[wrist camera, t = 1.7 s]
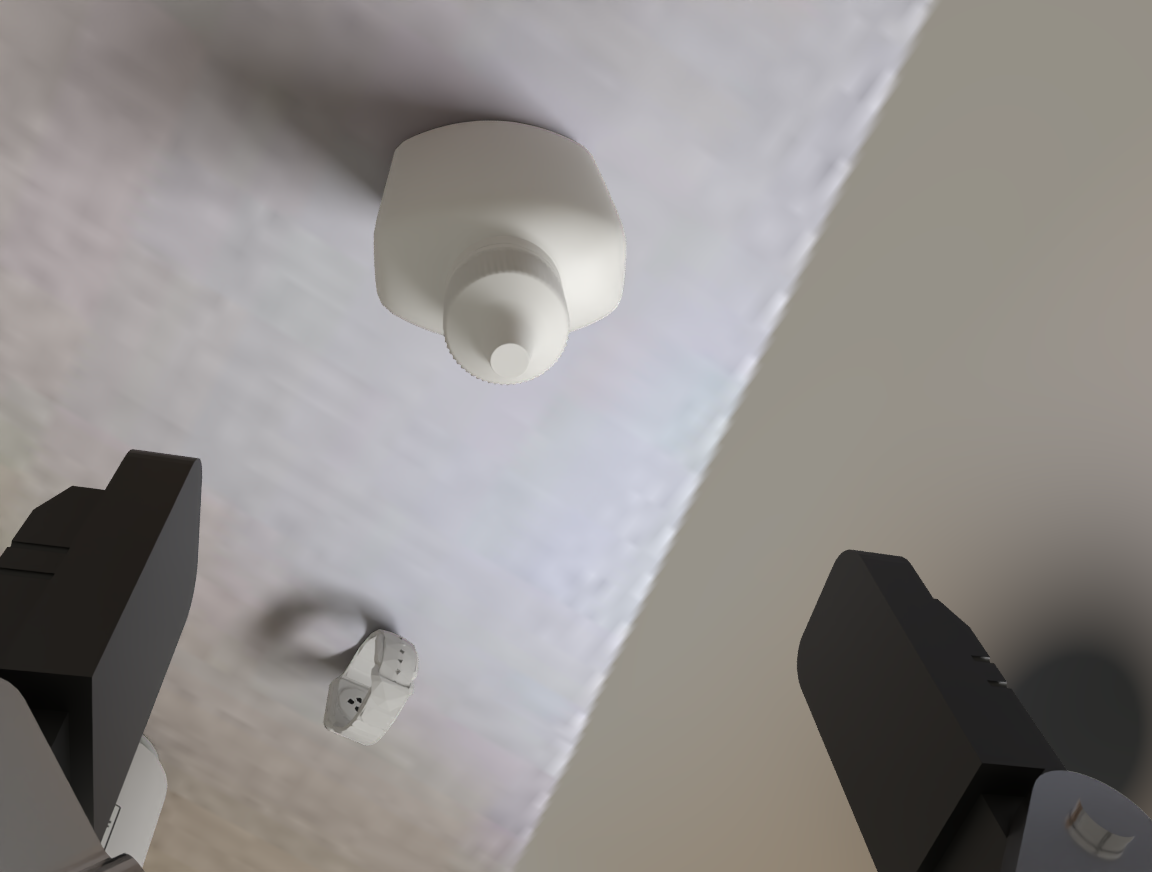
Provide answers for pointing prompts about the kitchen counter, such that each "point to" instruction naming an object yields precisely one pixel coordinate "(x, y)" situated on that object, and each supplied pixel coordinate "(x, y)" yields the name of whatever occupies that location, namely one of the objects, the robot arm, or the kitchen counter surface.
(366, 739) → the smartwatch
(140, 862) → the energy drink can
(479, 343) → the eye dropper bottle
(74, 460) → the kitchen counter surface
